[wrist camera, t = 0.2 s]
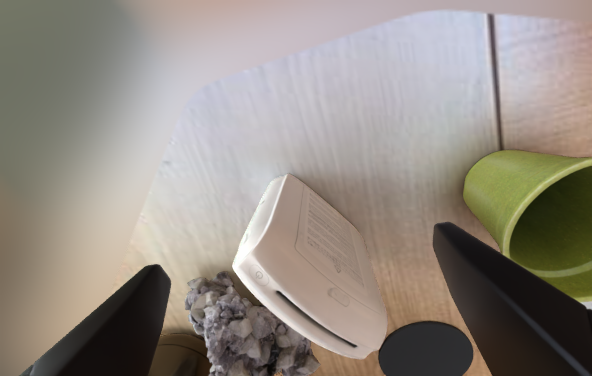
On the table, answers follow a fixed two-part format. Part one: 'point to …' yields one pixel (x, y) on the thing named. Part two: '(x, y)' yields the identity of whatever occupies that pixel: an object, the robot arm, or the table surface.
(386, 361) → the coaster
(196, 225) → the table surface
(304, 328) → the photo printer
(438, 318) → the table surface
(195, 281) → the mineral specimen
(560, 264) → the plant pot
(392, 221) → the table surface
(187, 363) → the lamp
